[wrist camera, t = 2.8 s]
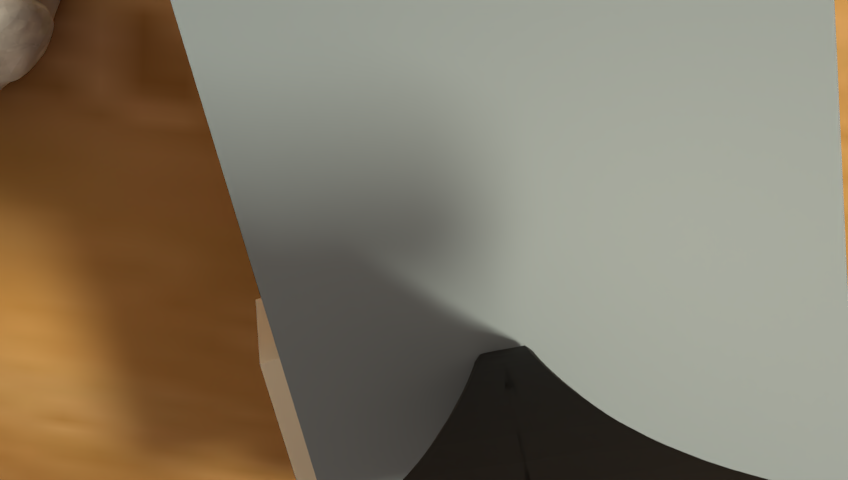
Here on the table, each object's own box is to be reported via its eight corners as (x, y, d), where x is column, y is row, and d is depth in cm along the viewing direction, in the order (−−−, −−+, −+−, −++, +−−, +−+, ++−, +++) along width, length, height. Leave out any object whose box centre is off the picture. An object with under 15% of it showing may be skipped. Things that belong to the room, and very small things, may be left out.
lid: (751, 502, 18) (861, 590, 14) (367, 663, 15) (399, 806, 12) (694, -83, 14) (828, -135, 11) (169, 22, 12) (143, -4, 8)
